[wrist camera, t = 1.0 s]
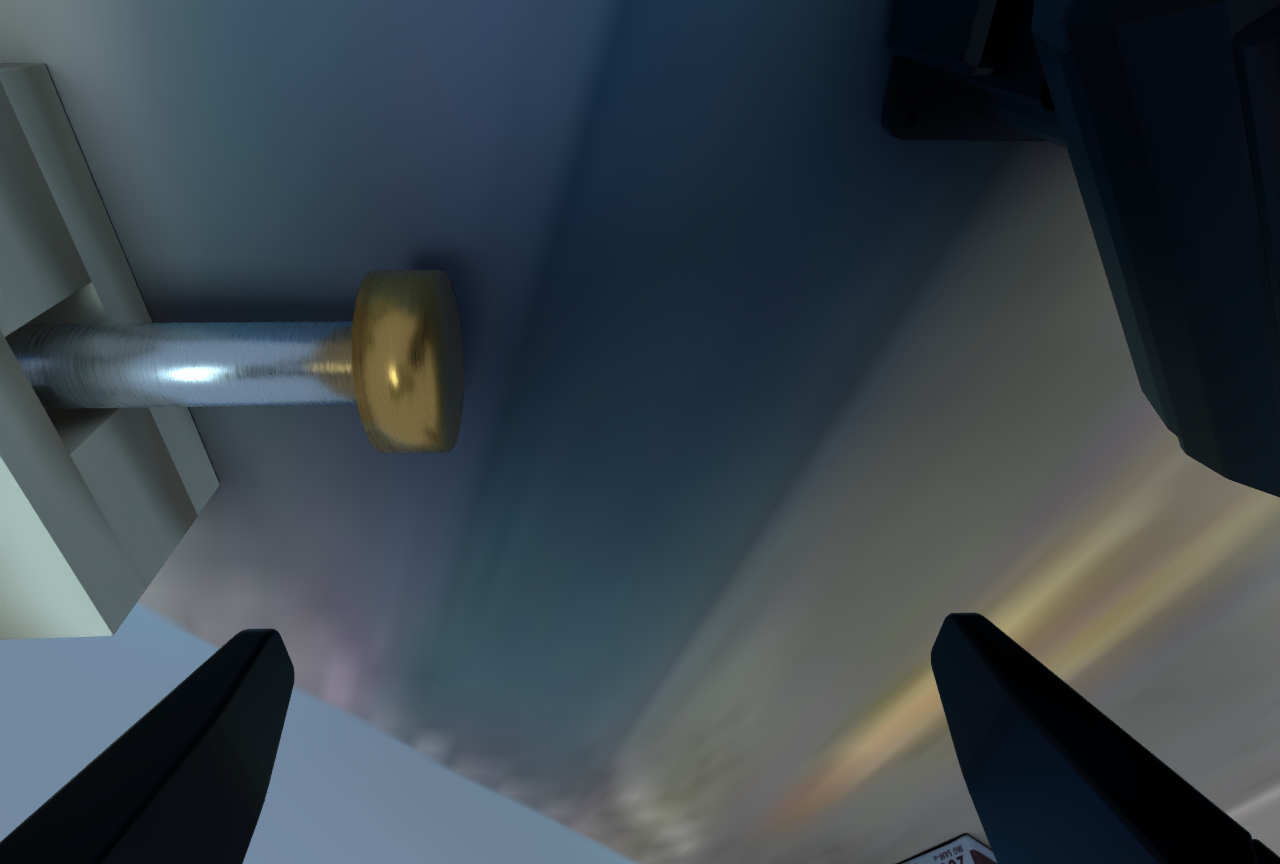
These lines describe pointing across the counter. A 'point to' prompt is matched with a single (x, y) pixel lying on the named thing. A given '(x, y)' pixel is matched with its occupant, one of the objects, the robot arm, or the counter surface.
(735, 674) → the counter surface
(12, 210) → the block
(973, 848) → the supplement box
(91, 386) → the pin
